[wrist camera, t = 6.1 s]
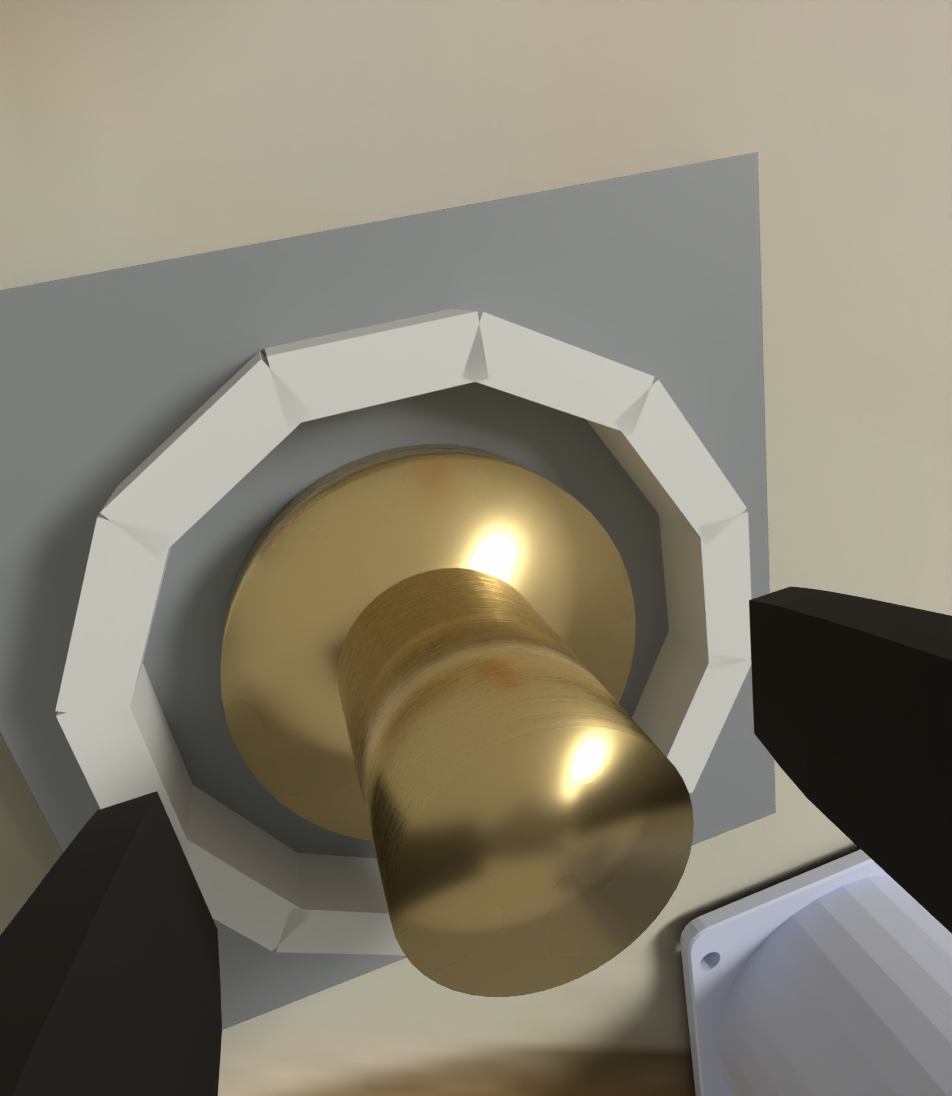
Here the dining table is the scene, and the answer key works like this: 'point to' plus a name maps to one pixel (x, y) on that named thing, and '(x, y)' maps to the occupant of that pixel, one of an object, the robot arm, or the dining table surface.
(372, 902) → the carrier plate
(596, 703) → the brass cabinet knob
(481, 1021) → the dining table surface
